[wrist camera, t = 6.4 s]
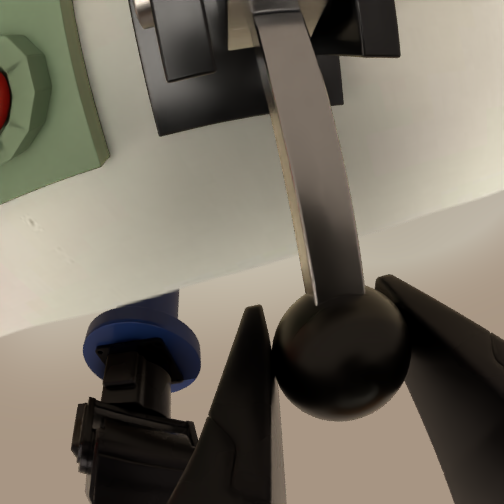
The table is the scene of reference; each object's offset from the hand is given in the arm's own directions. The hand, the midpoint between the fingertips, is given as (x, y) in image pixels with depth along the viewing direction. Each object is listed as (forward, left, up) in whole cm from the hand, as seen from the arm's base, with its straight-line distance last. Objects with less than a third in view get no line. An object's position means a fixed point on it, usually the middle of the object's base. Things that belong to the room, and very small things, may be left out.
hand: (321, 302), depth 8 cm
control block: (+8, +12, -10) cm, 18 cm away
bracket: (+8, 0, -10) cm, 13 cm away
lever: (+3, 0, -2) cm, 4 cm away
